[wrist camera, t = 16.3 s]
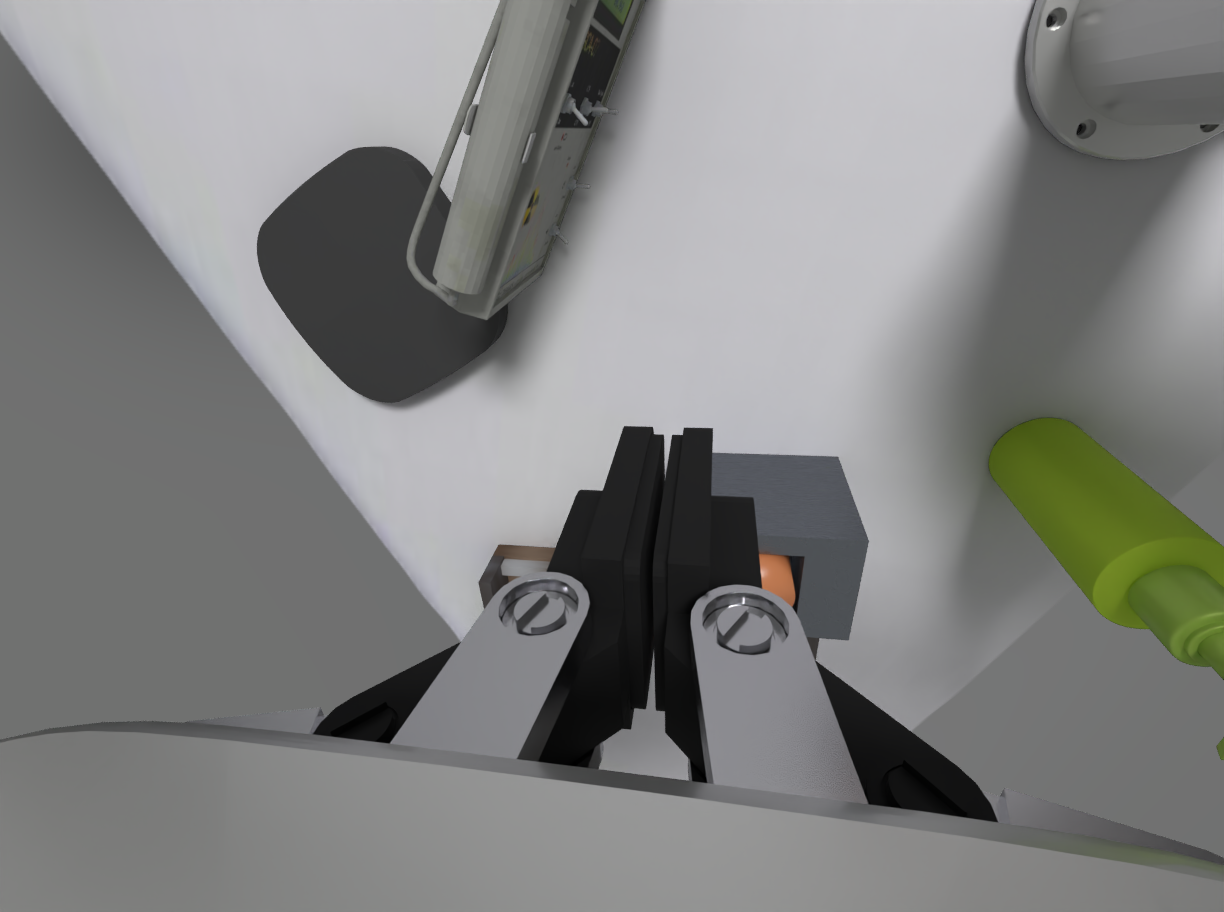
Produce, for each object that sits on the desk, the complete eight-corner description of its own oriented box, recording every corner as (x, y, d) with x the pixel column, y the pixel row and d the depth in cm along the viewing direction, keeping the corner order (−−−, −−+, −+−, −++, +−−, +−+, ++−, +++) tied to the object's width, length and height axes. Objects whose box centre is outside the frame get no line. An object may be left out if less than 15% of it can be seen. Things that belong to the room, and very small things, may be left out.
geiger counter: (482, 356, 27) (776, -483, 14) (357, 295, 27) (547, -632, 14) (553, 286, 39) (748, -205, 26) (468, 243, 39) (625, -279, 26)
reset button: (791, 528, 37) (798, 570, 34) (785, 580, 40) (791, 625, 36) (722, 524, 38) (723, 565, 35) (720, 575, 40) (720, 619, 37)
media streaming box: (530, 322, 41) (518, 335, 38) (387, 406, 46) (368, 422, 44) (400, 119, 36) (376, 118, 33) (257, 241, 41) (226, 248, 39)
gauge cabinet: (837, 456, 42) (868, 541, 33) (823, 549, 46) (847, 645, 37) (672, 451, 44) (661, 529, 35) (672, 541, 48) (662, 630, 39)
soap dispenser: (986, 508, 42) (1171, 771, 25) (990, 424, 39) (1205, 657, 22) (1079, 499, 40) (1347, 771, 23) (1092, 411, 37) (1411, 649, 20)
